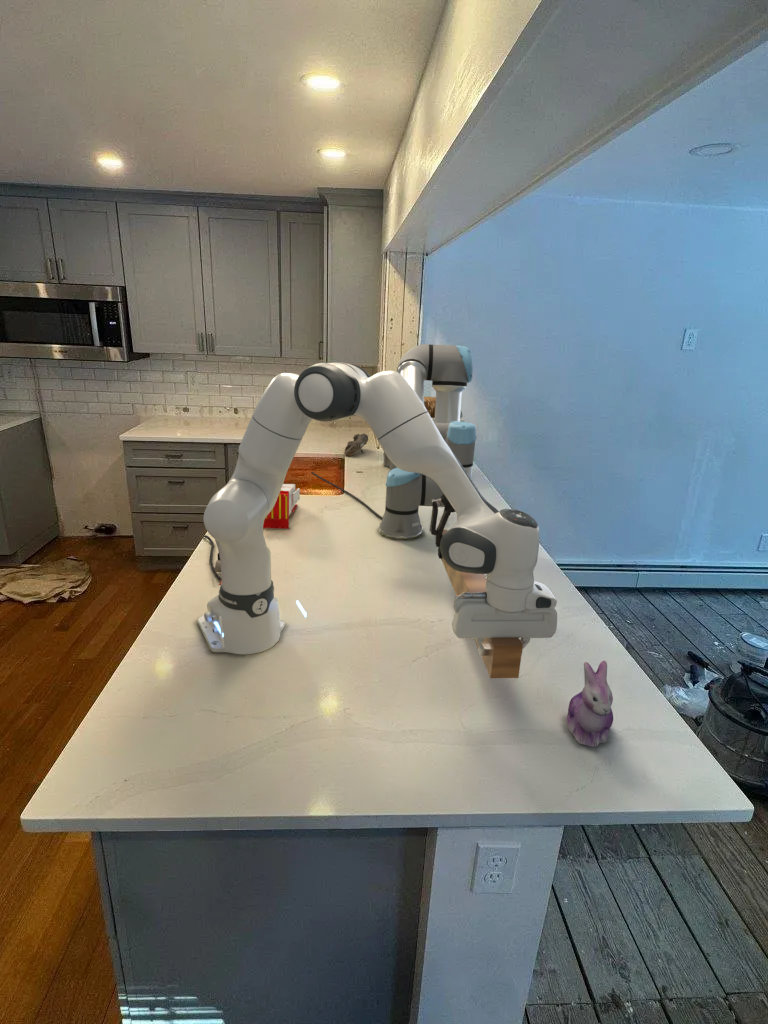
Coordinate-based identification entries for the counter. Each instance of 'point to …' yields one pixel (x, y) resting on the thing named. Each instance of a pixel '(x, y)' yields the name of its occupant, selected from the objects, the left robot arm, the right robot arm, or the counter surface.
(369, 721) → the counter surface
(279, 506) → the toy
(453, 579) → the bar
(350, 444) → the fossil
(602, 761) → the counter surface
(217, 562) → the figurine character
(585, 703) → the figurine
